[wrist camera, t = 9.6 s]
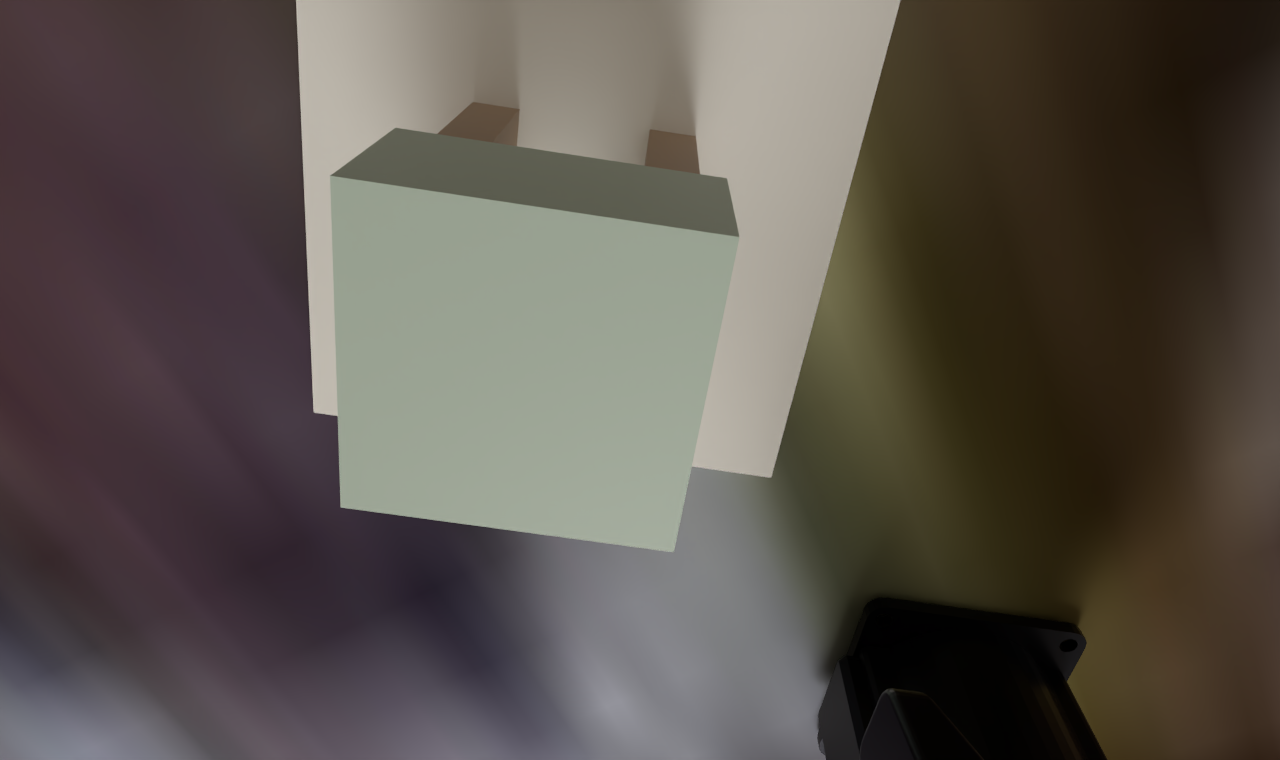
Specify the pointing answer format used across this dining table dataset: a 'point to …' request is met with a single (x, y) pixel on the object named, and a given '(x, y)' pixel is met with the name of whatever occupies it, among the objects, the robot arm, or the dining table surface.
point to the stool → (526, 329)
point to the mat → (625, 141)
